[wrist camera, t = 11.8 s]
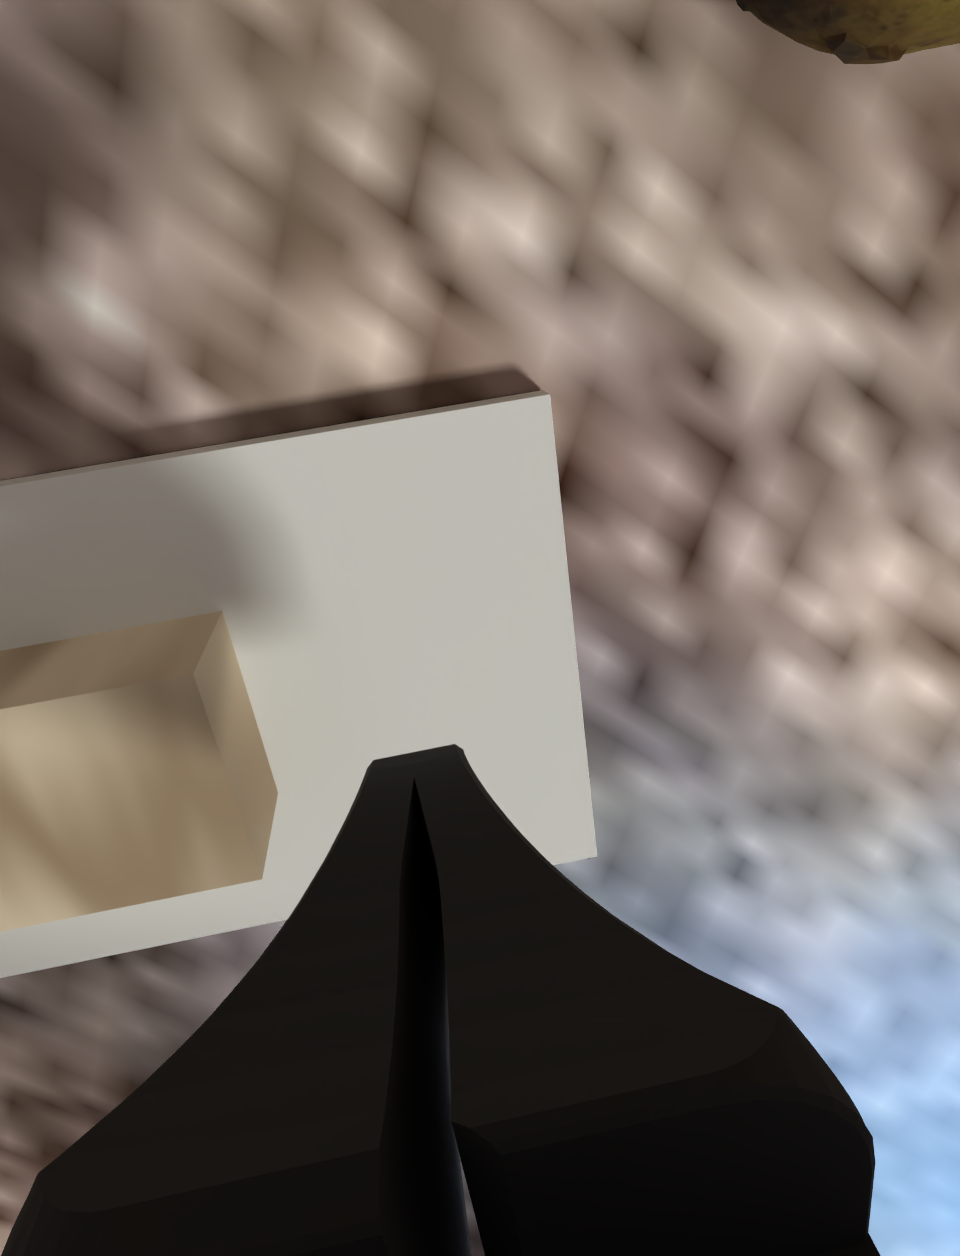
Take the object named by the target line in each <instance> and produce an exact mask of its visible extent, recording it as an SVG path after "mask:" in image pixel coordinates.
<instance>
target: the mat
mask: <svg viewBox="0 0 960 1256" xmlns="http://www.w3.org/2000/svg"><path fill="white" fill-rule="evenodd" d="M219 611H223V615H224V618H225V621H226V624H227V628H228V631H229V634H230V637H231V641H232V644H233V647H234V651H235V654H236V657H237V660H238V664H239V667H240V670H241V673H242V677H243V680H244V683H245V686H246V690H247V693H248V696H249V699H250V703H251V706H252V709H253V712H254V716H255V719H256V722H257V726H258V729H259V732H260V735H261V739H262V742H263V745H264V748H265V752H266V755H267V758H268V761H269V765H270V768H271V771H272V774H273V778H274V781H275V784H276V788H277V791H278V796H277V802H276V807H275V813H274V818H273V823H272V829H271V834H270V840H269V845H268V850H267V856H266V861H265V867H264V872H263V877H262V879H261V880H256V881H251V882H246V883H241V884H236V885H231V886H226V887H221V888H216V889H211V890H206V891H201V892H196V893H191V894H186V895H182V896H177V897H172V898H167V899H162V900H157V901H152V902H147V903H142V904H137V905H132V906H127V907H122V908H117V909H112V910H107V911H102V912H97V913H92V914H87V915H82V916H77V917H72V918H67V919H62V920H57V921H52V922H47V923H42V924H37V925H32V926H27V927H22V928H17V929H12V930H7V931H2V932H0V978H3V977H8V976H13V975H18V974H23V973H28V972H33V971H38V970H43V969H48V968H52V967H57V966H62V965H67V964H72V963H77V962H82V961H87V960H92V959H96V958H101V957H106V956H111V955H116V954H121V953H126V952H131V951H136V950H141V949H145V948H150V947H155V946H160V945H165V944H170V943H175V942H180V941H185V940H190V939H194V938H199V937H204V936H209V935H214V934H219V933H224V932H229V931H234V930H239V929H243V928H248V927H253V926H258V925H263V924H268V923H273V922H278V921H283V920H287V919H288V918H289V916H290V915H291V913H292V912H293V910H294V909H295V907H296V906H297V904H298V903H299V901H300V900H301V898H302V896H303V895H304V893H305V891H306V890H307V888H308V886H309V885H310V883H311V881H312V880H313V878H314V876H315V875H316V873H317V871H318V870H319V868H320V866H321V865H322V863H323V861H324V859H325V858H326V856H327V854H328V852H329V850H330V848H331V846H332V844H333V843H334V841H335V839H336V837H337V835H338V833H339V831H340V829H341V827H342V825H343V823H344V821H345V819H346V817H347V815H348V813H349V811H350V808H351V806H352V804H353V802H354V800H355V797H356V795H357V793H358V790H359V788H360V786H361V783H362V781H363V778H364V775H365V773H366V770H367V768H368V766H369V765H370V764H371V762H372V761H373V760H376V759H381V758H386V757H391V756H396V755H401V754H406V753H411V752H416V751H421V750H426V749H432V748H437V747H442V746H447V745H452V744H456V745H457V746H459V747H460V748H462V749H463V750H464V753H465V756H466V758H467V760H468V762H469V764H470V766H471V768H472V769H473V771H474V773H475V774H476V776H477V777H478V779H479V780H480V782H481V783H482V785H483V786H484V788H485V789H486V791H487V792H488V793H489V795H490V796H491V797H492V799H493V800H494V801H495V803H496V804H497V805H498V806H499V808H500V809H501V810H502V811H503V812H504V814H505V815H506V816H507V817H508V819H509V820H510V821H511V822H512V823H513V825H514V826H515V827H516V828H517V829H518V830H519V831H520V832H521V834H522V835H523V836H524V837H525V838H526V839H527V840H528V841H529V842H530V843H531V844H532V845H533V846H534V847H535V848H536V849H537V850H538V851H539V852H540V853H541V854H542V855H543V856H544V857H545V858H546V859H547V860H548V861H549V862H550V863H551V864H552V865H557V864H562V863H567V862H572V861H576V860H581V859H586V858H591V857H596V856H597V850H596V840H595V830H594V820H593V811H592V801H591V791H590V781H589V771H588V762H587V752H586V742H585V732H584V723H583V713H582V703H581V693H580V683H579V674H578V664H577V654H576V644H575V634H574V625H573V615H572V605H571V595H570V586H569V576H568V566H567V556H566V546H565V537H564V527H563V517H562V507H561V498H560V488H559V478H558V468H557V458H556V449H555V439H554V429H553V419H552V409H551V400H550V394H549V393H547V392H545V391H543V390H541V391H535V392H529V393H523V394H517V395H511V396H505V397H499V398H493V399H487V400H481V401H475V402H469V403H463V404H457V405H451V406H445V407H439V408H433V409H427V410H421V411H415V412H409V413H403V414H397V415H391V416H385V417H379V418H373V419H367V420H362V421H356V422H350V423H344V424H338V425H332V426H326V427H320V428H314V429H308V430H302V431H296V432H290V433H284V434H278V435H272V436H266V437H260V438H254V439H248V440H242V441H236V442H230V443H224V444H218V445H212V446H206V447H200V448H194V449H188V450H182V451H176V452H170V453H164V454H158V455H152V456H146V457H140V458H135V459H129V460H123V461H117V462H111V463H105V464H99V465H93V466H87V467H81V468H75V469H69V470H63V471H57V472H51V473H45V474H39V475H33V476H27V477H21V478H15V479H9V480H3V481H0V651H2V650H8V649H14V648H19V647H25V646H30V645H36V644H41V643H47V642H52V641H58V640H64V639H69V638H75V637H80V636H86V635H91V634H97V633H102V632H108V631H114V630H119V629H125V628H130V627H136V626H141V625H147V624H152V623H158V622H164V621H169V620H175V619H180V618H186V617H191V616H197V615H202V614H208V613H214V612H219Z"/></svg>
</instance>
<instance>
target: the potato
mask: <svg viewBox="0 0 960 1256" xmlns="http://www.w3.org/2000/svg"><path fill="white" fill-rule="evenodd" d="M736 2H737V4H738V6H739V7H740V8H741V9H742V10H743V11H750V12H751V13H752V14H754V15H755V16H756V17H757V18H758V19H759V20H760V21H762V22H763V23H765V24H766V25H768V26H770V27H772V28H773V29H775V30H777V31H779V32H780V33H782V34H784V35H786V36H787V37H789V38H791V39H793V40H794V41H796V42H798V43H801V44H803V45H805V46H808V47H810V48H813V49H815V50H818V51H821V52H826V53H830V54H835V55H836V56H837V57H838V58H839V59H840V60H841V61H842V62H843V63H844V64H876V63H885V62H891V61H897V60H899V59H900V58H901V57H902V55H903V54H908V53H913V52H917V51H921V50H926V49H931V48H936V47H941V46H947V45H952V44H957V43H960V0H736Z"/></svg>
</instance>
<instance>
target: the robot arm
mask: <svg viewBox="0 0 960 1256" xmlns="http://www.w3.org/2000/svg"><path fill="white" fill-rule="evenodd" d="M459 1154H460V1158H461V1162H462V1166H463V1170H464V1174H465V1178H466V1182H467V1186H468V1190H469V1194H470V1197H471V1201H472V1205H473V1209H474V1213H475V1217H476V1221H477V1225H478V1229H479V1233H480V1237H481V1241H482V1245H483V1249H484V1253H485V1256H880V1254H879V1252H878V1250H877V1248H876V1247H875V1245H874V1243H873V1241H872V1239H871V1237H870V1235H869V1233H868V1228H869V1218H870V1208H871V1199H872V1189H873V1179H874V1170H875V1156H874V1146H873V1137H872V1135H871V1134H870V1132H869V1130H868V1129H867V1127H866V1126H865V1124H864V1122H863V1119H862V1117H861V1115H860V1113H859V1111H858V1110H857V1108H856V1106H855V1105H854V1103H853V1101H852V1100H851V1098H850V1096H849V1095H848V1093H847V1092H846V1090H845V1089H844V1087H843V1086H842V1085H841V1083H840V1082H839V1080H838V1079H837V1077H836V1076H835V1075H834V1073H833V1072H832V1071H831V1069H830V1068H829V1067H828V1065H827V1064H826V1063H825V1061H824V1060H823V1059H822V1058H821V1056H820V1055H819V1054H818V1052H817V1051H816V1050H815V1048H814V1047H813V1046H812V1044H811V1043H810V1042H809V1041H808V1040H807V1038H806V1037H805V1036H804V1035H803V1033H802V1032H801V1031H800V1030H799V1029H798V1027H797V1026H796V1025H795V1024H794V1023H793V1021H792V1020H791V1019H790V1018H789V1017H788V1016H787V1014H786V1013H785V1012H784V1011H783V1010H782V1009H780V1008H779V1007H777V1006H774V1005H772V1004H770V1003H768V1002H766V1001H764V1000H762V999H760V998H757V997H755V996H753V995H751V994H749V993H747V992H745V991H743V990H740V989H738V988H736V987H734V986H732V985H730V984H728V983H726V982H723V981H721V980H719V979H717V978H715V977H713V976H711V975H709V974H706V973H705V972H703V971H701V970H699V969H697V968H695V967H694V966H692V965H690V964H688V963H687V962H685V961H683V960H681V959H680V958H678V957H676V956H675V955H673V954H671V953H669V952H668V951H666V950H665V949H663V948H662V947H660V946H659V945H657V944H656V943H654V942H653V941H651V940H649V939H648V938H646V937H645V936H643V935H642V934H640V933H639V932H637V931H636V930H634V929H633V928H631V927H630V926H628V925H627V924H625V923H624V922H622V921H621V920H619V919H618V918H616V917H615V916H614V915H612V914H611V913H609V912H608V911H607V910H606V909H604V908H603V907H602V906H600V905H599V904H598V903H597V902H595V901H594V900H593V899H591V898H590V897H589V896H588V895H586V894H585V893H584V892H583V891H581V890H580V889H579V888H578V887H577V886H576V885H574V884H573V883H572V882H571V881H570V880H569V879H567V878H566V877H565V876H564V875H563V874H562V873H561V872H559V871H558V870H557V869H556V868H555V867H554V866H553V865H552V864H551V863H550V862H549V861H548V860H547V859H546V858H545V857H544V856H543V855H542V854H541V853H540V852H539V851H538V850H537V849H536V848H535V847H534V846H533V845H532V844H531V843H530V842H529V841H528V840H527V839H526V838H525V837H524V836H523V835H522V834H521V832H520V831H519V830H518V829H517V828H516V827H515V826H514V825H513V823H512V822H511V821H510V820H509V819H508V817H507V816H506V815H505V814H504V812H503V811H502V810H501V809H500V808H499V806H498V805H497V804H496V803H495V801H494V800H493V799H492V797H491V796H490V795H489V793H488V792H487V791H486V789H485V788H484V786H483V785H482V783H481V782H480V780H479V779H478V777H477V776H476V774H475V773H474V771H473V769H472V768H471V766H470V764H469V762H468V760H467V758H466V756H465V753H464V750H463V749H462V748H460V747H459V746H457V745H456V744H452V745H447V746H442V747H437V748H432V749H426V750H421V751H416V752H411V753H406V754H401V755H396V756H391V757H386V758H381V759H376V760H373V761H372V762H371V764H370V765H369V766H368V768H367V770H366V773H365V775H364V778H363V781H362V783H361V786H360V788H359V790H358V793H357V795H356V797H355V800H354V802H353V804H352V806H351V808H350V811H349V813H348V815H347V817H346V819H345V821H344V823H343V825H342V827H341V829H340V831H339V833H338V835H337V837H336V839H335V841H334V843H333V844H332V846H331V848H330V850H329V852H328V854H327V856H326V858H325V859H324V861H323V863H322V865H321V866H320V868H319V870H318V871H317V873H316V875H315V876H314V878H313V880H312V881H311V883H310V885H309V886H308V888H307V890H306V891H305V893H304V895H303V896H302V898H301V900H300V901H299V903H298V904H297V906H296V907H295V909H294V910H293V912H292V913H291V915H290V916H289V918H288V919H287V921H286V922H285V924H284V925H283V927H282V928H281V929H280V931H279V932H278V934H277V935H276V936H275V938H274V939H273V940H272V942H271V943H270V944H269V946H268V947H267V949H266V950H265V951H264V953H263V954H262V955H261V957H260V958H259V959H258V960H257V962H256V963H255V964H254V965H253V967H252V968H251V969H250V970H249V972H248V973H247V974H246V975H245V976H244V978H243V979H242V980H241V981H240V983H239V984H238V985H237V986H236V987H235V988H234V989H233V991H232V992H231V993H230V994H229V995H228V996H227V998H226V999H225V1000H224V1001H223V1002H222V1003H221V1004H220V1006H219V1007H218V1008H217V1009H216V1010H215V1011H214V1013H213V1014H212V1015H211V1016H210V1017H209V1018H208V1019H207V1020H206V1021H205V1022H204V1023H203V1024H202V1026H201V1027H200V1028H199V1029H198V1030H197V1031H196V1032H195V1033H194V1034H193V1035H192V1036H191V1037H190V1038H189V1039H188V1040H187V1041H186V1042H185V1043H184V1044H183V1045H182V1046H181V1047H180V1048H179V1049H178V1050H177V1051H176V1052H175V1053H174V1054H173V1055H172V1056H171V1057H170V1058H169V1059H168V1060H167V1061H166V1062H165V1063H164V1064H163V1065H162V1066H161V1067H160V1068H159V1069H157V1070H156V1071H155V1072H154V1073H153V1074H152V1075H151V1076H150V1077H149V1078H148V1079H147V1080H146V1081H145V1082H144V1083H143V1084H142V1085H141V1086H140V1087H138V1088H137V1089H136V1090H135V1091H134V1092H133V1093H132V1094H131V1095H130V1096H129V1097H128V1098H126V1099H125V1100H124V1101H123V1102H122V1103H121V1104H120V1105H118V1106H117V1107H116V1108H115V1109H114V1110H113V1111H111V1112H110V1113H109V1114H108V1115H107V1116H106V1117H104V1118H103V1119H102V1120H101V1121H100V1122H99V1123H97V1124H96V1125H95V1126H94V1127H93V1128H92V1129H90V1130H89V1131H88V1132H87V1133H86V1134H85V1135H83V1136H82V1137H81V1138H80V1139H79V1140H78V1141H76V1142H75V1143H74V1144H73V1145H72V1146H71V1147H69V1148H68V1149H67V1150H66V1151H65V1152H64V1153H62V1154H61V1155H60V1156H59V1157H58V1158H56V1159H55V1160H54V1161H53V1162H51V1163H50V1164H49V1165H48V1166H46V1167H45V1168H44V1169H43V1170H42V1171H40V1172H39V1173H38V1175H37V1177H36V1179H35V1181H34V1184H33V1186H32V1188H31V1190H30V1193H29V1195H28V1197H27V1199H26V1201H25V1203H24V1205H23V1207H22V1209H21V1211H20V1213H19V1215H18V1217H17V1219H16V1222H15V1224H14V1226H13V1228H12V1230H11V1233H10V1235H9V1238H8V1240H7V1242H6V1245H5V1247H4V1250H3V1252H2V1255H1V1256H471V1249H470V1240H469V1232H468V1224H467V1216H466V1208H465V1200H464V1192H463V1184H462V1176H461V1167H460V1159H459Z"/></svg>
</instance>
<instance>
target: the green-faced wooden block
mask: <svg viewBox="0 0 960 1256" xmlns="http://www.w3.org/2000/svg"><path fill="white" fill-rule="evenodd" d="M277 796H278V791H277V788H276V784H275V781H274V778H273V774H272V771H271V768H270V765H269V761H268V758H267V755H266V752H265V748H264V745H263V742H262V739H261V735H260V732H259V729H258V726H257V722H256V719H255V716H254V712H253V709H252V706H251V703H250V699H249V696H248V693H247V690H246V686H245V683H244V680H243V677H242V673H241V670H240V667H239V664H238V660H237V657H236V654H235V651H234V647H233V644H232V641H231V637H230V634H229V631H228V628H227V624H226V621H225V618H224V615H223V611H219V612H214V613H208V614H202V615H197V616H191V617H186V618H180V619H175V620H169V621H164V622H158V623H152V624H147V625H141V626H136V627H130V628H125V629H119V630H114V631H108V632H102V633H97V634H91V635H86V636H80V637H75V638H69V639H64V640H58V641H52V642H47V643H41V644H36V645H30V646H25V647H19V648H14V649H8V650H2V651H0V932H2V931H7V930H12V929H17V928H22V927H27V926H32V925H37V924H42V923H47V922H52V921H57V920H62V919H67V918H72V917H77V916H82V915H87V914H92V913H97V912H102V911H107V910H112V909H117V908H122V907H127V906H132V905H137V904H142V903H147V902H152V901H157V900H162V899H167V898H172V897H177V896H182V895H186V894H191V893H196V892H201V891H206V890H211V889H216V888H221V887H226V886H231V885H236V884H241V883H246V882H251V881H256V880H261V879H262V877H263V872H264V867H265V861H266V856H267V850H268V845H269V840H270V834H271V829H272V823H273V818H274V813H275V807H276V802H277Z"/></svg>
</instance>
